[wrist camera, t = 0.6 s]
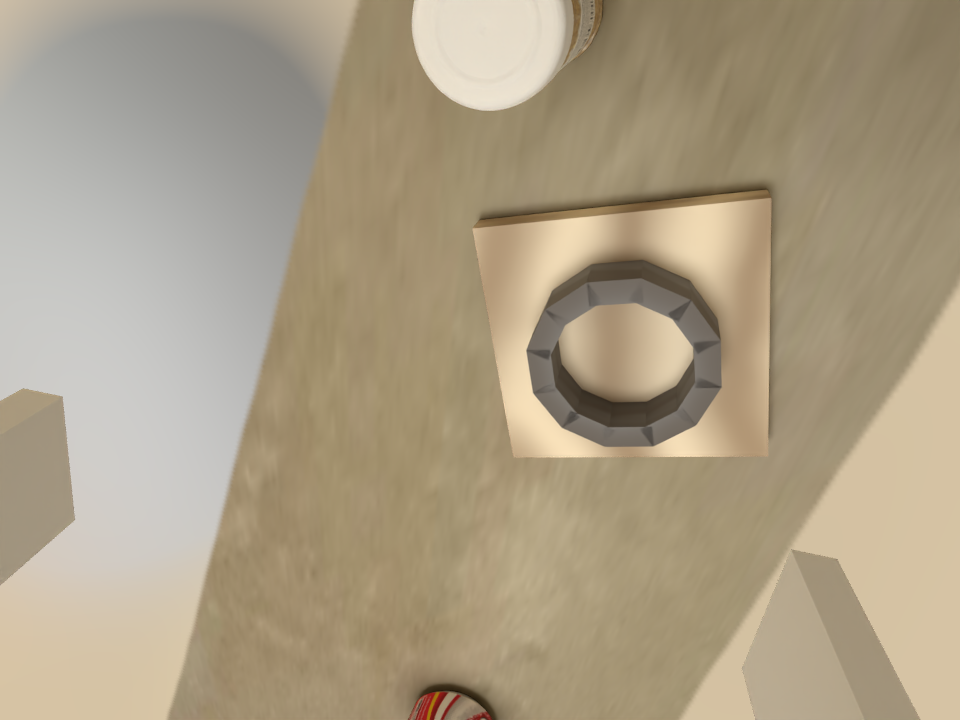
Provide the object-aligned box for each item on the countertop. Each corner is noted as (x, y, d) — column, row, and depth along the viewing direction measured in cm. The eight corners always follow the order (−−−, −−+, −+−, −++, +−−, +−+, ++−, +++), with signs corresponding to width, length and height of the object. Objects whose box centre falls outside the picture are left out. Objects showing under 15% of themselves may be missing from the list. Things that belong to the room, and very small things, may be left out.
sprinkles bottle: (533, -69, 30) (449, -103, 18) (624, -13, 30) (597, -12, 18) (485, 35, 32) (383, 63, 21) (569, 86, 32) (516, 143, 21)
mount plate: (767, 189, 32) (779, 213, 29) (764, 440, 38) (773, 485, 35) (479, 220, 36) (459, 244, 33) (518, 443, 42) (505, 483, 39)
